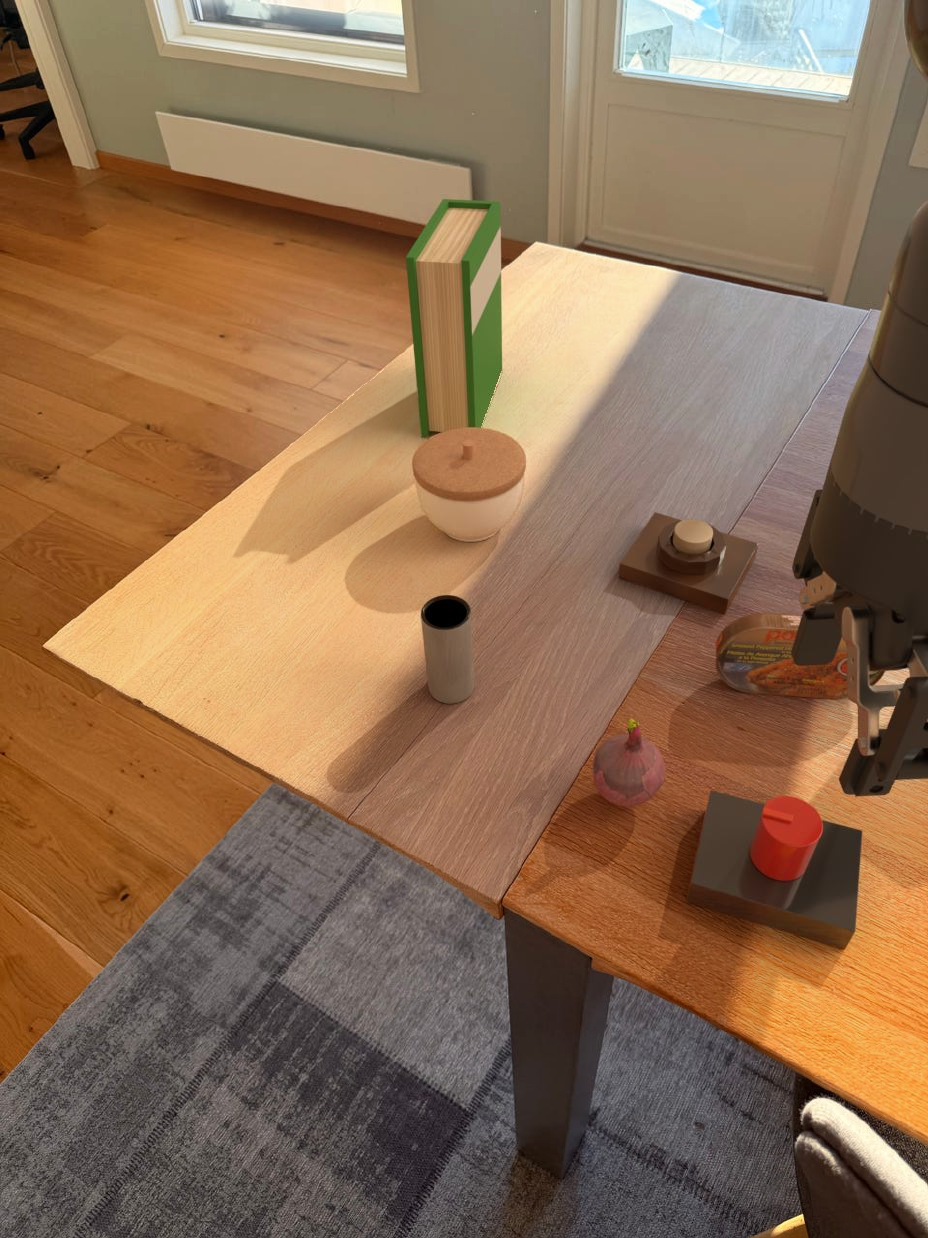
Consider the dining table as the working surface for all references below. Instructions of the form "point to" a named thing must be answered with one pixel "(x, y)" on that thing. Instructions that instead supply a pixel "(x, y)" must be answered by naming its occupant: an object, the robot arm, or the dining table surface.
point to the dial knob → (785, 838)
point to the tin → (777, 660)
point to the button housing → (688, 565)
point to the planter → (448, 648)
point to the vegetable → (628, 768)
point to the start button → (692, 537)
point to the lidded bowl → (469, 481)
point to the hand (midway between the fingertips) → (834, 720)
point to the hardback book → (456, 313)
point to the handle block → (741, 890)
